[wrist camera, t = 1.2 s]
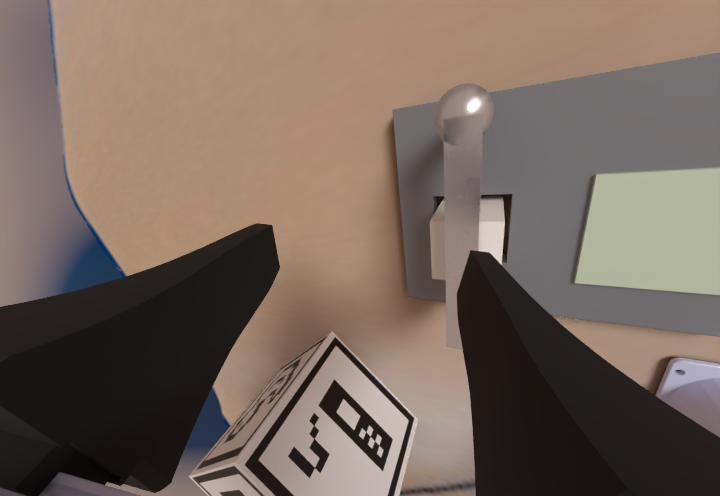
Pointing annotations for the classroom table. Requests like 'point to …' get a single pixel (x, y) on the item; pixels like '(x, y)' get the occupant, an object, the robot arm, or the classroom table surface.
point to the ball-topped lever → (461, 184)
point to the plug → (489, 233)
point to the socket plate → (591, 193)
